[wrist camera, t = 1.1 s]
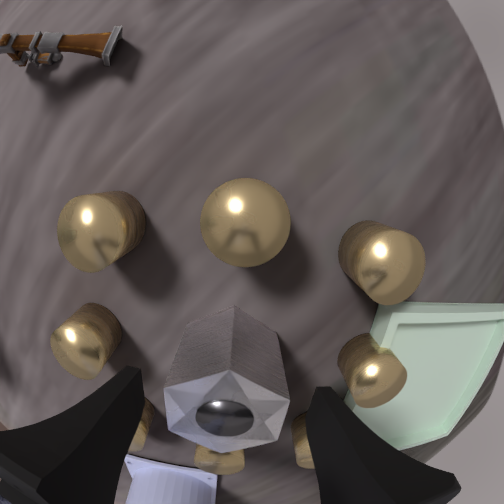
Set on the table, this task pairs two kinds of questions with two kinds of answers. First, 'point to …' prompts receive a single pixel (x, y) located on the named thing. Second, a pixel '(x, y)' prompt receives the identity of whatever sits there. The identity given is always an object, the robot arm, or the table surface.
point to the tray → (432, 366)
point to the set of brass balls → (242, 255)
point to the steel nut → (227, 383)
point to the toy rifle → (58, 46)
